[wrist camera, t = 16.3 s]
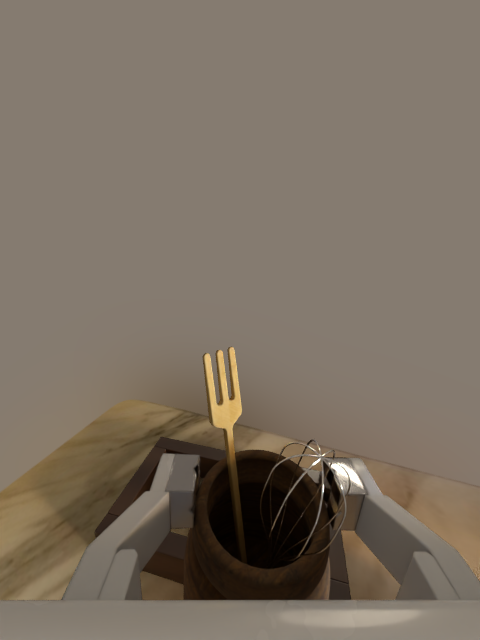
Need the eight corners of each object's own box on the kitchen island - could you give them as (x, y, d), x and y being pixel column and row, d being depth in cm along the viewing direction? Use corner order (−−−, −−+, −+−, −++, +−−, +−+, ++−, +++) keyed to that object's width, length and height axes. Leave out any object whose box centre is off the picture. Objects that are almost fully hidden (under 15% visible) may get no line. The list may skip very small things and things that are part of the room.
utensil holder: (238, 802, 8) (277, 526, 4) (161, 585, 12) (146, 367, 9) (343, 631, 11) (413, 402, 8) (252, 512, 16) (268, 336, 12)
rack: (345, 638, 17) (353, 613, 16) (98, 556, 21) (93, 531, 20) (328, 495, 27) (332, 473, 26) (162, 456, 31) (160, 436, 30)
